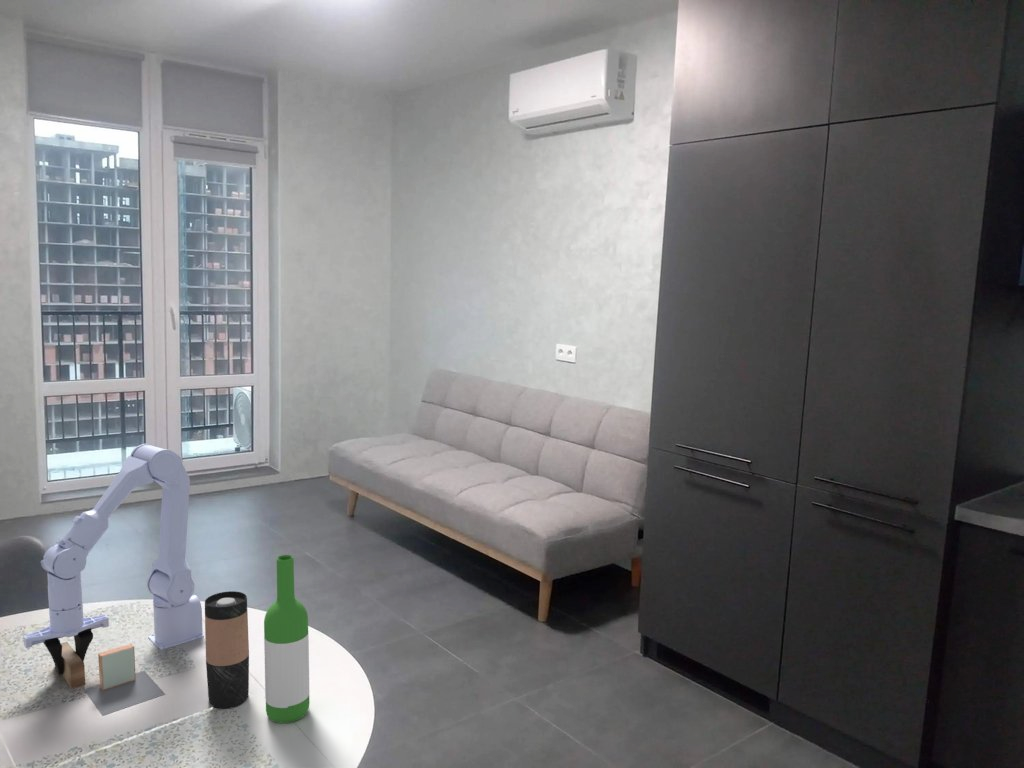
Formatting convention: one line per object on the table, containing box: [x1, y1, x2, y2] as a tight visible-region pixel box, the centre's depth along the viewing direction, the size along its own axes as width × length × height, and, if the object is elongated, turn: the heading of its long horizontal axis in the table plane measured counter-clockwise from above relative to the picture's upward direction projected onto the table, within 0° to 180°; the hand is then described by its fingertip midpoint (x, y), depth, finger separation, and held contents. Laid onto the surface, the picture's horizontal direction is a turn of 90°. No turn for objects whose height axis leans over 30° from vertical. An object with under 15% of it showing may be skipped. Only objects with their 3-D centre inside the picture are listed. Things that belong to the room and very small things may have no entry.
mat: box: [83, 670, 166, 717], centre depth 145 cm, size 11×12×1 cm
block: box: [97, 643, 136, 691], centre depth 147 cm, size 6×2×7 cm, turn 134°
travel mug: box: [204, 590, 250, 710], centre depth 143 cm, size 8×8×20 cm
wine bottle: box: [263, 554, 310, 724], centre depth 138 cm, size 8×8×30 cm
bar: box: [60, 641, 86, 689], centre depth 151 cm, size 12×2×5 cm, turn 44°
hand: (69, 670), depth 151 cm, fingers open, 3 cm apart
